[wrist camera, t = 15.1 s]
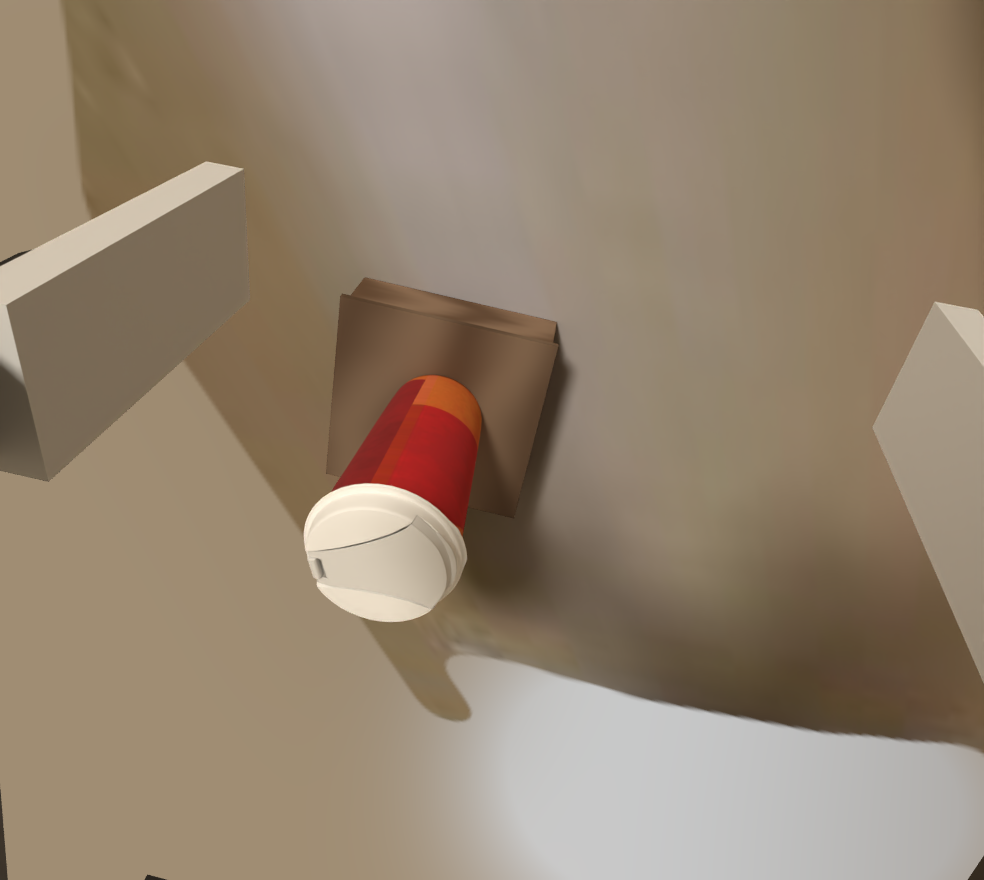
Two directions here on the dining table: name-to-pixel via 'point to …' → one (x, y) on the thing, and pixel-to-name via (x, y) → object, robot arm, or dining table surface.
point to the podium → (447, 352)
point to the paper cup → (400, 506)
